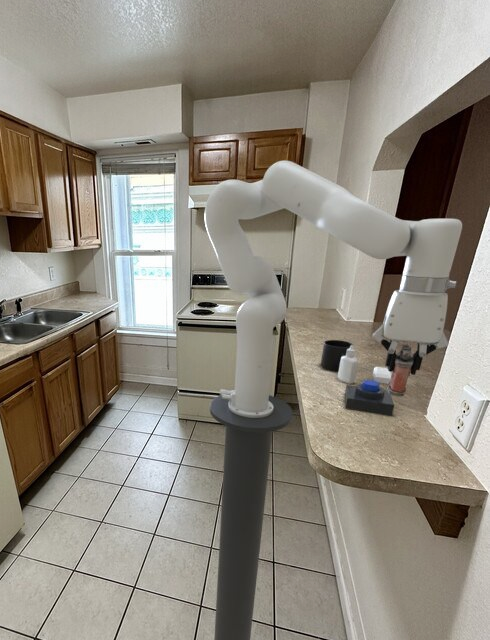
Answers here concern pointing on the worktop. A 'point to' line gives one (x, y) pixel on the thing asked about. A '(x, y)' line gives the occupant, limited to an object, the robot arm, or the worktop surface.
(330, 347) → the mug
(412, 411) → the worktop surface
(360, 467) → the worktop surface
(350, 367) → the eye dropper bottle
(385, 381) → the soap bar
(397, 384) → the lighter
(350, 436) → the worktop surface
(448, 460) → the worktop surface
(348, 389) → the button housing
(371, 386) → the blue button cap
